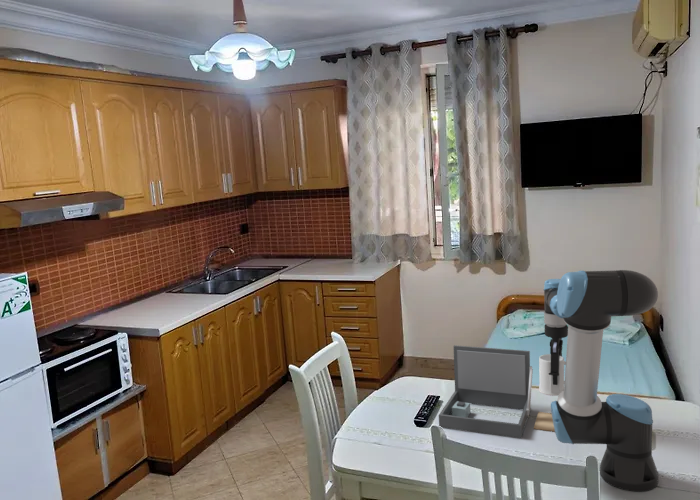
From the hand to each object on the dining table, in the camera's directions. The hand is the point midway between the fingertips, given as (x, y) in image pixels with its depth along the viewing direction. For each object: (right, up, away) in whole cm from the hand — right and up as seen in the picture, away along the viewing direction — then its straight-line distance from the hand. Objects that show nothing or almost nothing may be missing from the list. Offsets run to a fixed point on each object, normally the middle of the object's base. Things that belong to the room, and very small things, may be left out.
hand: (556, 388), depth 201 cm
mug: (0, -1, 0) cm, 1 cm away
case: (-22, -13, +9) cm, 27 cm away
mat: (+1, -13, +2) cm, 13 cm away
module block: (-30, -13, +13) cm, 36 cm away
